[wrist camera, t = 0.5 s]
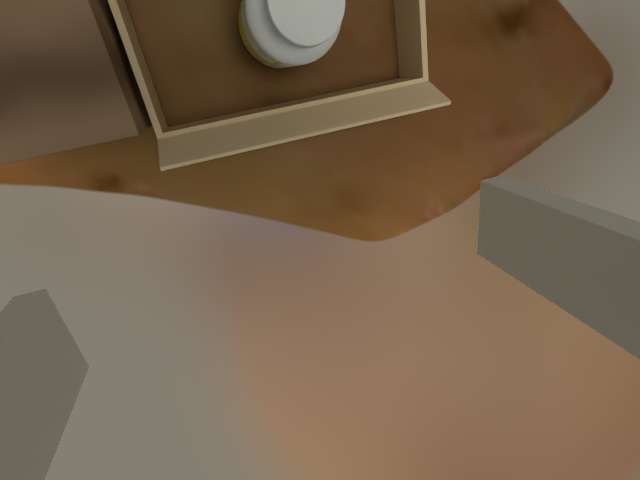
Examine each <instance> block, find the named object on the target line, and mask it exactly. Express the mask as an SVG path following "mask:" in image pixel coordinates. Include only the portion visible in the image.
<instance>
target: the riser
mask: <svg viewBox="0 0 640 480" xmlns="http://www.w3.org/2000/svg"><path fill="white" fill-rule="evenodd" d="M151 125H152V123H151V120H150V117H149V114H148V111H147V109H146V106H145V103H144V100H143V97H142V95H141V92H140V89H139V86H138V83H137V81H136V78H135V75H134V72H133V70H132V67H131V64H130V61H129V58H128V56H127V53H126V50H125V47H124V44H123V42H122V39H121V36H120V33H119V30H118V28H117V25H116V22H115V19H114V16H113V14H112V11H111V8H110V5H109V2H108V0H0V165H1V164H6V163H10V162H15V161H20V160H25V159H29V158H34V157H39V156H43V155H48V154H53V153H58V152H62V151H67V150H72V149H76V148H81V147H86V146H91V145H95V144H100V143H105V142H110V141H114V140H119V139H124V138H128V137H133V136H138V135H140V134H141V133H142V132H144V131H145V130H146V129H148V128H149V127H150V126H151Z"/></svg>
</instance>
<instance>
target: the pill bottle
mask: <svg viewBox="0 0 640 480" xmlns="http://www.w3.org/2000/svg"><path fill="white" fill-rule="evenodd" d="M344 11H345V0H242V2H241V5H240V8H239V13H238V29H239V33H240V37H241V40H242V42H243V44H244V46H245V48H246V49H247V51H248V52H249V53H250V54H251V55H252V56H253V57H254V58H255V59H256V60H257V61H258V62H260V63H262V64H264V65H266V66H268V67H272V68H287V67H294V66H299V65H304V64H308V63H311V62H314V61H316V60H317V59H319V58H320V57H322V56H323V55H324V54H325V53H326V52H327V51H328V50H329V49H330V48H331V47H332V45H333V43H334V42H335V40H336V38H337V36H338V33H339V30H340V27H341V22H342V19H343V16H344Z"/></svg>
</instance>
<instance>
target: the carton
mask: <svg viewBox="0 0 640 480" xmlns="http://www.w3.org/2000/svg"><path fill="white" fill-rule="evenodd" d="M108 2H109V5H110V8H111V11H112V14H113V16H114V19H115V22H116V25H117V28H118V30H119V33H120V36H121V39H122V42H123V44H124V47H125V50H126V53H127V56H128V58H129V61H130V64H131V67H132V70H133V72H134V75H135V78H136V81H137V83H138V86H139V89H140V92H141V95H142V97H143V100H144V103H145V106H146V109H147V111H148V114H149V117H150V120H151V123H152V125H153V128H154V131H155V134H156V137H157V141H158V153H159V165H160V169H161V171H164V170H168V169H172V168H177V167H181V166H185V165H190V164H194V163H198V162H203V161H207V160H212V159H216V158H220V157H225V156H229V155H233V154H238V153H242V152H246V151H251V150H255V149H259V148H264V147H268V146H272V145H277V144H281V143H285V142H290V141H294V140H298V139H303V138H307V137H311V136H316V135H320V134H324V133H329V132H333V131H337V130H342V129H346V128H350V127H355V126H359V125H363V124H368V123H372V122H376V121H381V120H385V119H389V118H394V117H398V116H402V115H407V114H411V113H415V112H420V111H424V110H428V109H433V108H437V107H441V106H446V105H450V103H451V101H450V100H449V99H448V98H447V97H446V96H445V95H444V94H443V93H442V92H440V91H439V90H438V89H437V88H436V87H435V86H434V85H433V84H432V83H431V82H429V81H428V59H427V37H426V14H425V0H393V3H394V16H395V29H396V43H397V56H398V69H399V78H397V79H392V80H387V81H383V82H378V83H373V84H368V85H364V86H359V87H354V88H349V89H345V90H340V91H335V92H330V93H326V94H321V95H316V96H312V97H307V98H302V99H297V100H293V101H288V102H283V103H278V104H274V105H269V106H264V107H259V108H255V109H250V110H245V111H240V112H236V113H231V114H226V115H221V116H217V117H212V118H207V119H202V120H198V121H193V122H188V123H183V124H179V125H174V126H169V127H168V125H167V122H166V119H165V117H164V114H163V111H162V108H161V105H160V102H159V99H158V96H157V93H156V90H155V87H154V84H153V81H152V78H151V75H150V73H149V70H148V67H147V64H146V61H145V58H144V55H143V52H142V49H141V46H140V43H139V40H138V37H137V34H136V31H135V29H134V26H133V23H132V20H131V17H130V14H129V11H128V8H127V5H126V2H125V0H108Z"/></svg>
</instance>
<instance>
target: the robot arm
mask: <svg viewBox="0 0 640 480" xmlns="http://www.w3.org/2000/svg"><path fill="white" fill-rule="evenodd" d="M478 254H479V255H480V256H482V257H483V258H485V259H486V260H488V261H490V262H491V263H492V264H494V265H495V266H497V267H499V268H500V269H502V270H503V271H505V272H506V273H508V274H509V275H511V276H513V277H514V278H515V279H517V280H519V281H520V282H522V283H523V284H525V285H526V286H528V287H529V288H531V289H532V290H534V291H535V292H537V293H538V294H540V295H542V296H543V297H545V298H546V299H548V300H549V301H551V302H552V303H554V304H555V305H557V306H558V307H560V308H562V309H563V310H565V311H566V312H568V313H569V314H571V315H572V316H574V317H575V318H577V319H578V320H580V321H581V322H583V323H585V324H586V325H588V326H589V327H591V328H592V329H594V330H595V331H597V332H598V333H600V334H602V335H603V336H604V337H606V338H608V339H609V340H611V341H612V342H614V343H615V344H617V345H619V346H620V347H621V348H623V349H625V350H626V351H627V352H629V353H631V354H632V355H634V356H635V357H637V358H638V359H640V222H638V221H635V220H632V219H629V218H626V217H623V216H620V215H617V214H614V213H611V212H608V211H605V210H602V209H599V208H596V207H593V206H590V205H587V204H584V203H581V202H578V201H575V200H572V199H569V198H566V197H563V196H560V195H557V194H554V193H551V192H548V191H545V190H542V189H539V188H537V187H534V186H530V185H528V184H525V183H522V182H518V181H516V180H513V179H510V178H507V177H503V176H497V177H493V178H489V179H485V180H481V190H480V213H479V234H478ZM88 368H89V366H88V364H87V362H86V360H85V358H84V357H83V355H82V353H81V351H80V349H79V348H78V346H77V344H76V342H75V341H74V339H73V337H72V335H71V333H70V332H69V330H68V328H67V326H66V325H65V323H64V321H63V319H62V317H61V316H60V314H59V312H58V310H57V308H56V307H55V305H54V303H53V301H52V300H51V298H50V296H49V294H48V292H47V291H46V289H43V290H39V291H35V292H31V293H27V294H23V295H19V296H15V297H13V298H12V299H11V300H10V301H9V303H8V304H7V305H6V306H5V307H4V308H3V310H2V311H1V312H0V480H44V479H45V476H46V474H47V471H48V469H49V466H50V464H51V462H52V459H53V457H54V454H55V451H56V449H57V446H58V444H59V441H60V439H61V436H62V434H63V431H64V429H65V426H66V424H67V421H68V419H69V416H70V414H71V411H72V409H73V406H74V404H75V401H76V398H77V396H78V394H79V391H80V389H81V386H82V383H83V381H84V378H85V376H86V373H87V371H88Z"/></svg>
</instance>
